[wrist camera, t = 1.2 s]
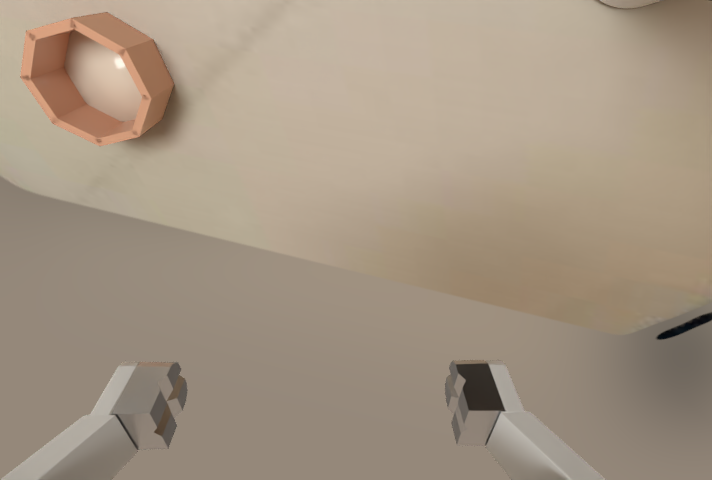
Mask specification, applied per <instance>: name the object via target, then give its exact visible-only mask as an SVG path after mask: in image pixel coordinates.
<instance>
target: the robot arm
mask: <svg viewBox="0 0 712 480" xmlns="http://www.w3.org/2000/svg"><path fill="white" fill-rule="evenodd" d="M600 1H601V2H603V3H605V4H607V5H610V6H613V7H617V8H637V7H642V6H646V5H649V4H653V3H656V2H659V1H662V0H600ZM711 1H712V0H711ZM449 369H450V373H451V374H450V375H449V376H448V377H447V378H446V383H445V395H446V402H447V406H448V409H449V410H450V411H451V412H452V413H453V414H454V416H453V420H452V428H453V431H454V436H455V440H456V444H457V445H465V446H466V445H467V446H486V449H487V450H488V451H489V452H490V454H491V455H492V456H493V457H494V458H495V460H496V461H497V462H498V464H499V465H500V466H501V467H502V469H503V470H504V471H505V472H506V474H507V475H508V476H509V477H510V478H511V480H606V479H604V478H603V477H602V476H601V475H600V474H599V473H598V472H597V471H596V470H594V469H593V468H592V467H591V466H590V465H589V464H588V463H586V461H584V460H583V459H582V458H581V457H580V456H579V455H578V454H577V453H576V452H574V451H573V450H572V449H571V448H570V447H569V446H568V445H567V444H565V443H564V442H563V441H562V440H561V439H560V438H559V437H558V436H557V435H556V434H555V433H553V432H552V431H551V430H550V429H549V428H548V427H547V426H546V425H545V424H543V423H542V422H541V421H540V420H539V419H538V418H537V417H536V416H535V415H533V414H532V413H531V412H530V411H525V410H524V408H523V406H522V403H521V401H520V398H519V396H518V394H517V391H516V389H515V386H514V384H513V381H512V379H511V377H510V374H509V372H508V369H507V367H506V365H505V363H504V362H503V361H501V360H492V361H491V360H490V361H484V360H462V361H452V362H451V364H450V367H449ZM180 371H181V368H180V366H179V364H178V363H177V362H123V363H122V364H121V365H120V366H119V367H118V368H117V369H116V371H115V373H114V374H113V376H112V378H111V380H110V382H109V383H108V385H107V386H106V388H105V390H104V392H103V393H102V395H101V397H100V398H99V400H98V402H97V404H96V405H95V407H94V409H93V410H92V412H91V414H90V415H84V416H83V417H82V418H80V419H79V420H78V421H76V422H75V423H74V424H72V425H71V426H70V427H68V428H67V429H66V430H64V431H63V432H62V433H61V434H59V435H58V436H57V437H55V438H54V439H53V440H51V441H50V442H49V443H48V444H46V445H45V446H44V447H42V448H41V449H40V450H39V451H37V452H36V453H34V454H33V455H32V456H31V457H29V458H28V459H27V460H25V461H24V462H23V463H21V464H20V465H19V466H17V467H16V468H15V469H14V470H12V471H11V472H10V473H8V474H7V475H6V476H4V477H3V478H2V479H0V480H112V479H113V478H114V477H115V476H116V475H117V473H118V472H119V471H120V470H121V469H122V468H123V467H124V466H125V465H126V464H127V463H128V462H129V461H130V460H131V459H132V458H133V456H134V455H135V454H136V453H137V452H138V451H137V450H146V449H168V448H169V445H170V443H171V440H172V437H173V435H174V432H175V429H176V427H177V424H176V422H175V419H174V418H175V417H176V416H177V415H178V414H179V413H181V412H182V410H183V408H184V405H185V402H186V397H187V383H186V380H185V378H183V377H182V376H180V375H179V374H180Z"/></svg>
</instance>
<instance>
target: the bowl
mask: <svg viewBox="0 0 712 480" xmlns="http://www.w3.org/2000/svg"><path fill="white" fill-rule="evenodd" d="M20 77H21V79H22V80H23V81H24V83H25V84H26V86H27V87H28V89H29V90H30V92H31V93H32V94H33V96H34V97H35V99H36V100H37V102H38V103H39V105H40V106H41V107H42V109H43V110H44V112H45V113H46V115H47V116H48V118H49V119H50V120H51V122H52V123H53V124H55V125H57V126H59V127H61V128H63V129H65V130H67V131H69V132H71V133H74V134H76V135H78V136H80V137H82V138H84V139H86V140H88V141H90V142H92V143H94V144H96V145H99V146H103V145H107V144H111V143H116V142H120V141H124V140H128V139H132V138H137V137H140V136H141V135H142V134H144V133H145V132H146V131H147V130H149V129H150V128H151V127H153V126H154V125H155V124H156V123H158V122H159V121H160V120H161V119H162V118H163V115H164V112H165V109H166V106H167V104H168V101H169V98H170V95H171V92H172V89H173V86H174V83H173V81H172V79H171V76H170V74H169V72H168V70H167V68H166V66H165V64H164V62H163V60H162V57H161V55H160V53H159V51H158V49H157V47H156V45H155V43H154V41H153V39H151V38H150V37H148V36H146V35H145V34H143V33H141V32H139V31H138V30H136V29H134V28H133V27H131V26H129V25H128V24H126V23H124V22H123V21H121V20H119V19H117V18H116V17H114V16H112V15H111V14H109V13H107V12H105V13H99V14H93V15H87V16H81V17H74V18H70V19H67V20H63V21H60V22H56V23H53V24H49V25H46V26H42V27H39V28H35V29H32V30H28V31H26V36H25V44H24V52H23V60H22V68H21V76H20Z"/></svg>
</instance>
